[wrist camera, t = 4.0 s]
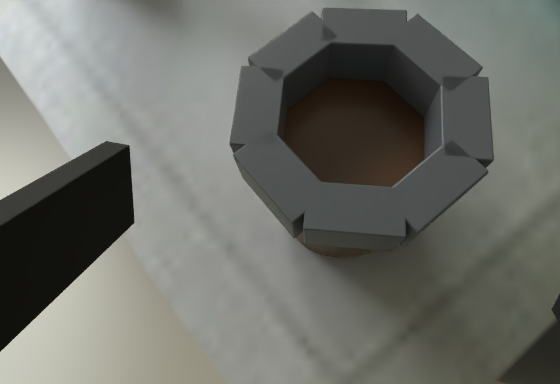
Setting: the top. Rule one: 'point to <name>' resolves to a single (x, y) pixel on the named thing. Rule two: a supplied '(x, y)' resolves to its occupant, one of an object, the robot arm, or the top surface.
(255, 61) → the gray octagonal ring
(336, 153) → the stand
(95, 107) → the top surface
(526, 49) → the top surface
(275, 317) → the top surface
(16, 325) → the robot arm
